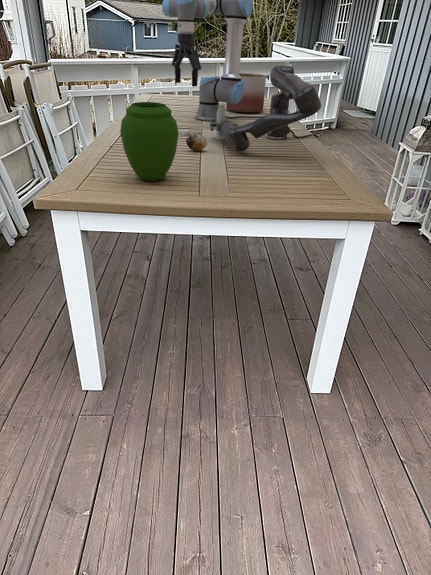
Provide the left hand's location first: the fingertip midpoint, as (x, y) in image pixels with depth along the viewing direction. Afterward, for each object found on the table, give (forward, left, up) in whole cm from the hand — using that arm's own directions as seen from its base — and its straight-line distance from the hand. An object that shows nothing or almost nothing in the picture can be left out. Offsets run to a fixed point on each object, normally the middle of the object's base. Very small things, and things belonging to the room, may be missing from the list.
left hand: (186, 84), depth 199 cm
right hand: (-14, +10, -17) cm, 24 cm away
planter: (-64, -63, -23) cm, 92 cm away
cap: (0, 0, -22) cm, 22 cm away
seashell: (+6, +33, -23) cm, 41 cm away
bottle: (-14, +12, -23) cm, 30 cm away
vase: (+36, +67, -23) cm, 80 cm away
